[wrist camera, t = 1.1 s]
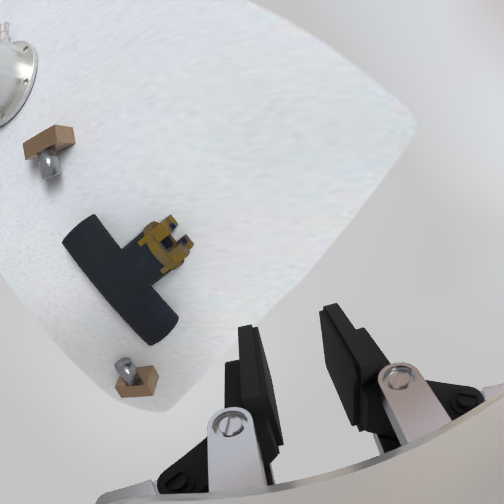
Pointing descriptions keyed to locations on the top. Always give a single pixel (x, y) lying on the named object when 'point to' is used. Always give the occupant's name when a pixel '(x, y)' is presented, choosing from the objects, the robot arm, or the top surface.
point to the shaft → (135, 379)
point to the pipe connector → (131, 271)
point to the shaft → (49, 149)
